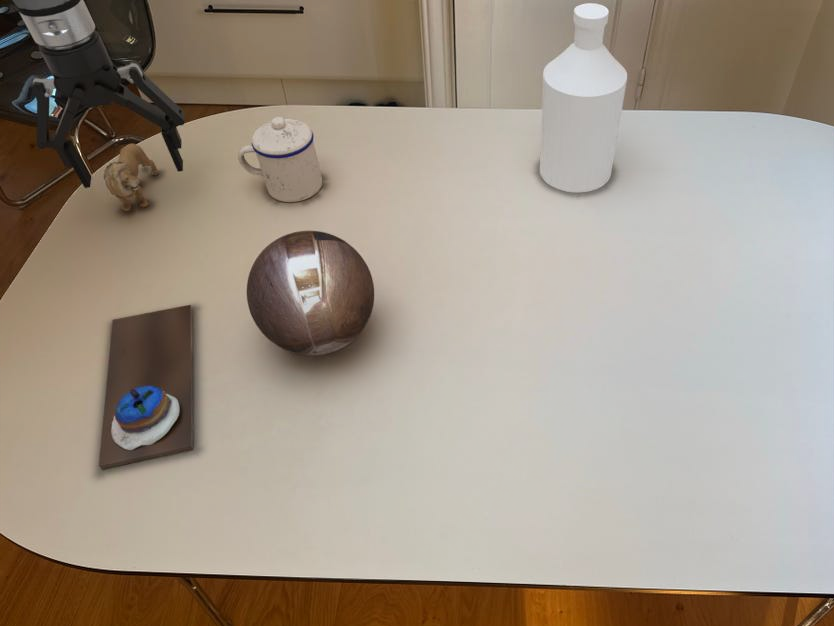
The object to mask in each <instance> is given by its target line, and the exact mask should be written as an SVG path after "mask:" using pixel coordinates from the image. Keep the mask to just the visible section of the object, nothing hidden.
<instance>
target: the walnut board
mask: <svg viewBox="0 0 834 626" xmlns="http://www.w3.org/2000/svg"><path fill="white" fill-rule="evenodd" d="M193 315H194V314H193V307H192V305H191V304H188V305H182V306H177V307H171V308H167V309H161V310H156V311H151V312H146V313H145V312H144V313H141V314H136V315H129V316H125V317H120V318H115V319H112V324H111V334H110V343H109V345H110V346H109V355H108V366H107V376H106V386H105V395H104V396H105V397H104V407H103V419H102V429H101V441H100V449H99V450H100V451H99V459H98V467H99V468H100V469H101V470H106V469H111V468H116V467H120V466H124V465H129V464H134V463H138V462H142V461H146V460H151V459H155V458H161V457H166V456H169V455H174V454H178V453H183V452H187V451H191V450H194V349H193V348H194V345H193V344H194V342H193V341H194V340H193V339H194V338H193V337H194V335H193V333H194V330H193V329H194V328H193V327H194V326H193V325H194V324H193V319H194V317H193ZM142 386H156V387H154V388H159V390H160V389H161V388H162V389H161V390H162V391H164V392H165V394H169V395H171V396H173V397H175V398H176V399H177V400H178V403H179V411H180V412H179V416H178V418H177V420H176V421H175V422H174V424H173V425H172V426H171V428H170V429H169V431H168V432H167V433H166V434H165V435H164V436H163V437H162V438H160V439H159V440H157V441H156V442H155V443H153V444H151V445H141V446H139V447H137V448H135V449H133V450H127V449H124V448H123V447H121V446H119V445H118V444H117V443H116V442H115V441H114V440H113V438H112V433H111V428H112V422H113V420H114V416H115V409H116V405H117V404H118V402H119V400H120V399H121V398H122V397H123V396H124V395H125V394H127V393H128V392H130V390H131V389H135V388H138V387H142Z"/></svg>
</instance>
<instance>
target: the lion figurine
mask: <svg viewBox="0 0 834 626" xmlns="http://www.w3.org/2000/svg"><path fill="white" fill-rule="evenodd" d="M139 165H141V166H142V168H145V167H148V168H151V170H150V173H151V175H152V176H158V175H159V173H160V172H159V170H158V168H157V166H156V164H155V162H154V161H153V160H152V159H150V158H149V157H148V156H147V153H145V151H144V150H143V148H142V147H141V146H140V145H138V144H136V143H128V144H126V145H125V146H123V147H122V148H121V149H120V151H119V156H118V159H117V161H113V162H109V164H108V165H106V167H105V169H104V172H103V180H104V182H105V186H106V188H107V189H108V191H109V193H110V194H111V195H112V196H115V197H116V198H117V199H119V200H120V203H122V206H121V209H122V210H123V212H129V211H130V210H131V208H132V207H131V204H130V201H129V200H128V199H130V198H132V197H134V196H136V199H137V202H138V204H139V206H140V207H141V208H146V207H148V206H149V205H150V203H149V202H148V201H147V200H146V198H145V196H144V194H143V190H142V188H141V185H140V181H141V180H140V178H139V169H140V168H139Z"/></svg>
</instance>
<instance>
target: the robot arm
mask: <svg viewBox="0 0 834 626" xmlns="http://www.w3.org/2000/svg"><path fill="white" fill-rule="evenodd" d="M12 1H13V3H14V4H15V8H16V9H17V11H18V13H19V15H20V17H21V18H22V20H23V22H24V24H25V26H26V28H27V29H28V31H29V33H30V35H31V37H32V39H33V41H34V42H35V44H37V45H38V50H39V52H40V54H41V56H42V58H43V60H44V61H45V63H46V65H47V67H48V69H49V72H50V73H51V75H52V76H53V77H52V78H44V77H43V76H41V75H35V76H34V78H33V80H32V85H31V90H32V93H33V95H34V97H35V100H36V146H37V148H39V149H41V150H45V149H46V148H48V149H53V150H54V151H55V152H56V153H57V155H58V157H59V158H60V160H61V162H62V163H63V165H64V166H65V167H66V168H67V169H69V168H70V169H71V168H73V170H74V172H75V174H76V175H77V177H78V179H79V180H80V182H81V184H82V186H83V188H84V189H89V188H91V183H92V175H91V173H90V171H89V169H88V168H87V166H86V163H85V162H84V160H83V158H82V156H81V155H80V153H79V151H78V149H77V147H76V145H75V144H74V142H73V140H72V139H67V137H68V134H69V132H70V129H71V126H72V125H73V121H74V119H75V116H76V115H77V113H78V110H79V108H80V106H82V107H86V109H91V108H95V107H97V106H110V105H111V103H115V104H116V105H119V106H121V107H125V108H127V109H129V110H130V111H132V112H134V113H135V114H137V115H139V116H141V117H142V118H144V119H146V120H147V121H149V122H150V123H152V124H154V125H156V126H157V127H159V128H160V129H161V136H162V139H163V142H164V143H165V146H166V148H167V150H168V153H169V155H170V158H171V159H172V162H173V164H174V166H175V169H176V171H177V172H183V171H184V160H183V158H182V156H181V153H180V150H181V149H182V144H183V143H182V141H183V140H182V137H181V135H180V133H179V130H178V127H180V126H184V125H185V123H186V122H185V121H186V120H185V115H186V114H185V110H183V109H182V108H181V107H180V106H179V105H178V104H177V103H176V102H175V101H174V100H173V99H172V98H170V97H169V96H168V95H167V94H166V93H165V92H164V91H163V90H162V89H161V88H160V87H159V86H158V85H157V84H155V83H154V81H152V80H151V79H150V78H149V77H148V76H147V75H146V74H145V72H144V70H143V68H142V66H141V65H140V63H139V62H138V61H137V60H130V61H129V65H125V66H122V67H117V66H116V65H115V64H114V63H113V62H112V59H111V57H110V55H109V53H108V51H107V48H106V46H105V44H104V42H103V39H102V37H101V35H100V33H99V32H98V31H97V30H96V24H95V21H94V20H93V17H92V16H91V13H90V11H89V9H88V7H87V5H86V2H85V1H84V0H12ZM122 79H126V80H127V81H128V83H130V84H134V85H135V86H136V88H137V89H138V90H139V92H141V93H142V94H143V95H144V96H146V98H147V99H148V100H150V101H151V102H152V103H153V104H152V103H150V102H149V101H147V100H146V99H144V98H142V97H140V96H139V95H137V94H135V93H134V92H132V91H131V90H130V89H129V88H128V87H127V86H125V85H124V84H122V83H121V81H122ZM54 90H57V92H59V93H61V94H62V95H64V96H65V97H67V102H66V104H65V107H64V109H63V112H62V115H61V117H60V120H59V123H58V126H57V129H56V131H55V133H54V134H50V97H52V96H53V94H54Z"/></svg>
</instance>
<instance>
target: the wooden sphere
mask: <svg viewBox="0 0 834 626" xmlns="http://www.w3.org/2000/svg"><path fill="white" fill-rule="evenodd" d="M249 270H250V271H249V274H248V277H247V282H246V302H247V306H248V310H249V313H250V315H251V318H252V320H253V322H254V324H255V326H256V327H257V329H258V330H259V331H260V332H261V333H262V335H263V336H264V337H265V338H266V339H268V340H269V341H270V342H271V343H273V344H274V345H275V346H277V347H279V348H281V349H282V350H285V351H287V352H290V353H292V354H296V355H303V356H323V355H327V354H330V353H331V354H332V353H333V352H336V351H338V350H341V349H343V348H344V347H347V345H349V344H351V343H352V342H353V341H355V340H356V338H357V337H358V336H359V335H360V334H361V333H362V332H363V330H364V329H365V327H366V326H367V325H368V322H369V321H370V318H371V317H372V313H373V309H374V305H375V304H374V303H375V285H374V281H373V280H374V279H373V276H372V273H371V271H370V268H369V266H368V264H367V263H366V260H365V259H364V258H363V256H362V255H361V254H360V253H359V251H357V249H356V248H354V247H353V246H352V245H351V244H350V243H349V242H347V241H346V240H344V239H342V238H340V237H338V236H337V235H334V234H331V233H328V232H326V231H325V232H324V231H319V230H299V231H294V232H291V233H287V234H284V235H282V236H280V237H278V238H276V239H275V240H273V241H271V243H269V244H268V245H267V246H266V247H265V248H264V249H262V251H261V252H260V253H259V254H258V255H257V257H256V258H255V260H254V262H253V264H252V265H251V268H250V269H249Z"/></svg>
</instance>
